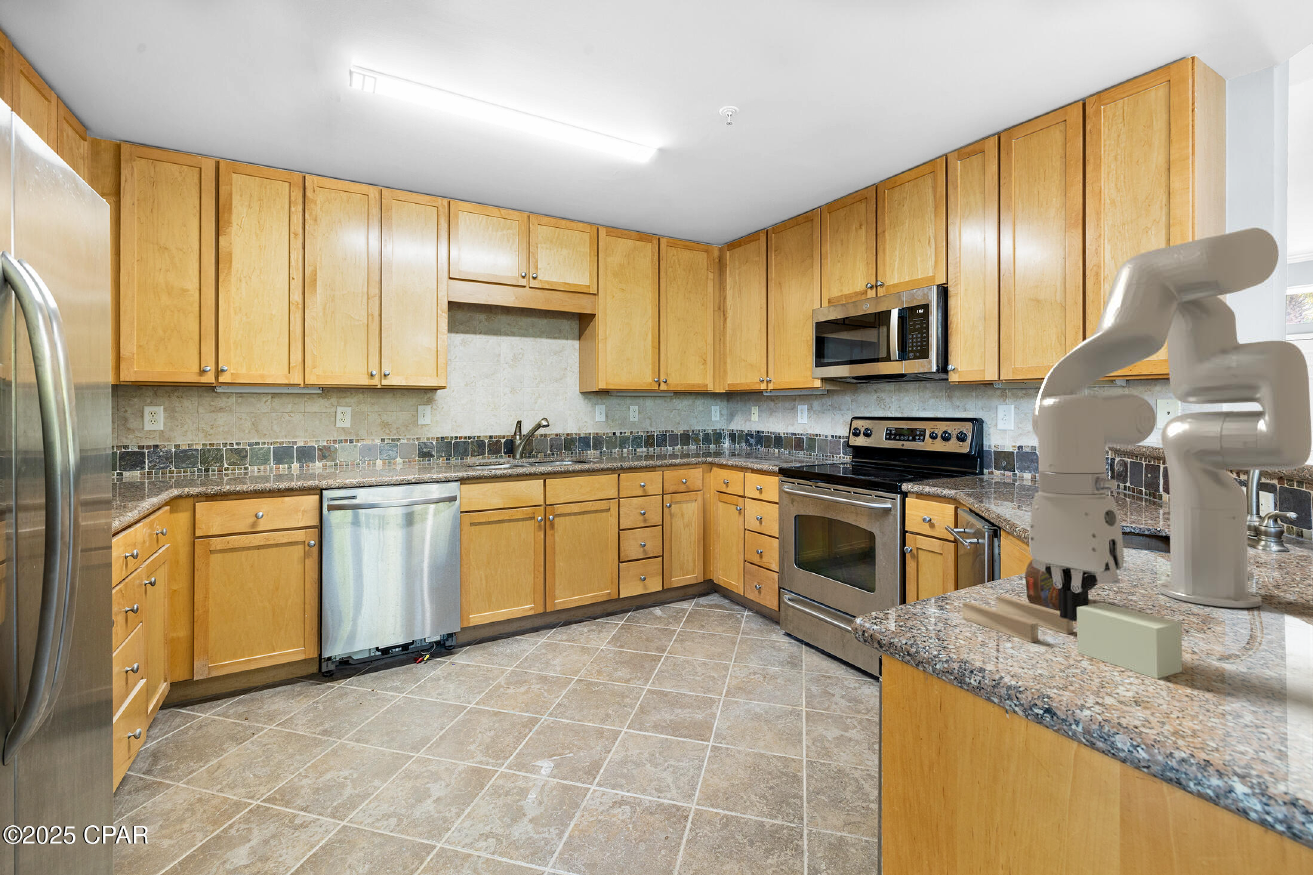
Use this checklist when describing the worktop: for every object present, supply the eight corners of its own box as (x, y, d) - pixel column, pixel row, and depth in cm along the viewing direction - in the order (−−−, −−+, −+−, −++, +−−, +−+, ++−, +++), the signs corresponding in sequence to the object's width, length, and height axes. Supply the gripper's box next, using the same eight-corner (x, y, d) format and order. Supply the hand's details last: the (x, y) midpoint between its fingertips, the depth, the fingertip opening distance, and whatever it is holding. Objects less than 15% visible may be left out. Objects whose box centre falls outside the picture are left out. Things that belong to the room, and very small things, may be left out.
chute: (1003, 611, 94) (1002, 595, 94) (1073, 632, 84) (1073, 615, 84) (962, 619, 91) (962, 603, 91) (1031, 642, 80) (1030, 624, 80)
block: (1101, 646, 78) (1101, 602, 78) (1182, 671, 70) (1181, 622, 70) (1077, 652, 77) (1076, 607, 76) (1157, 678, 68) (1156, 628, 68)
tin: (1043, 616, 91) (1042, 563, 91) (1021, 611, 94) (1020, 559, 94) (1081, 598, 100) (1080, 549, 100) (1060, 594, 102) (1060, 547, 102)
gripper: (1152, 488, 73) (1153, 631, 74) (1037, 479, 87) (1038, 600, 88) (1114, 491, 71) (1116, 640, 71) (1001, 482, 85) (1003, 606, 85)
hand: (1073, 617), depth 79 cm, fingers closed
